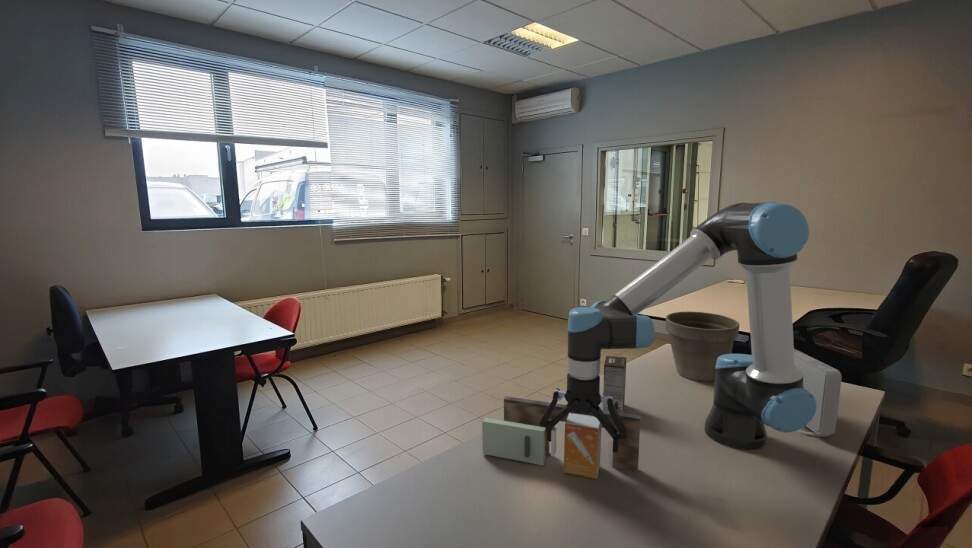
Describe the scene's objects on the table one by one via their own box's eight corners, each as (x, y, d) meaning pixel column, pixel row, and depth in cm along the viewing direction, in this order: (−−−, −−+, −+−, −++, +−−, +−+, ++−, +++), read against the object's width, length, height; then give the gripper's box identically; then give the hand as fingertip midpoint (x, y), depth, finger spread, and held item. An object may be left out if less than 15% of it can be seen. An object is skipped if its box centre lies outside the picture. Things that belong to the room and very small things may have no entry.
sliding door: (545, 461, 112) (545, 427, 111) (542, 468, 109) (542, 433, 108) (485, 449, 118) (485, 417, 116) (481, 456, 115) (480, 423, 113)
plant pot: (731, 393, 152) (736, 332, 149) (656, 379, 166) (659, 322, 162) (737, 370, 173) (742, 316, 170) (670, 359, 186) (673, 308, 183)
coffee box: (604, 401, 147) (605, 354, 144) (624, 404, 145) (626, 356, 142) (602, 414, 138) (603, 364, 136) (623, 417, 136) (625, 366, 134)
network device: (757, 401, 146) (762, 342, 143) (784, 401, 146) (790, 342, 143) (811, 442, 121) (818, 372, 118) (844, 442, 121) (852, 372, 117)
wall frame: (638, 468, 110) (640, 415, 108) (637, 472, 108) (640, 418, 106) (505, 444, 121) (505, 396, 119) (503, 447, 119) (503, 399, 117)
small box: (563, 473, 108) (564, 422, 106) (568, 459, 114) (568, 411, 112) (597, 480, 105) (599, 428, 103) (600, 465, 111) (602, 416, 109)
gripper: (640, 374, 103) (636, 459, 107) (535, 362, 112) (534, 441, 115) (639, 386, 96) (635, 477, 100) (527, 373, 105) (527, 457, 108)
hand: (581, 458), depth 107 cm, fingers open, 13 cm apart
